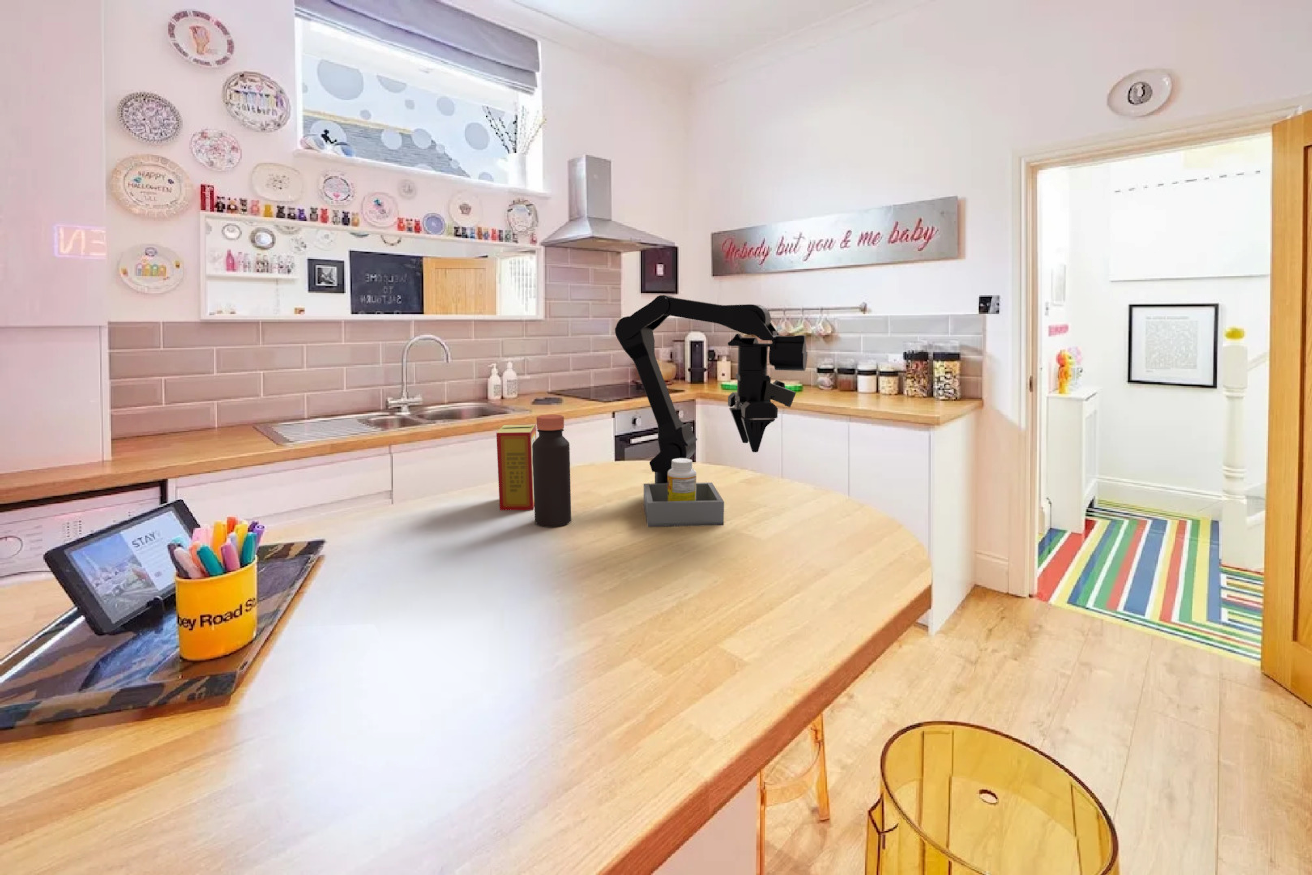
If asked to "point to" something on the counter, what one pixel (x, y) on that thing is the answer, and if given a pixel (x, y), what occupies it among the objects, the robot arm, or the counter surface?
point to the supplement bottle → (681, 481)
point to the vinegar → (551, 473)
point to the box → (683, 507)
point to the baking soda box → (516, 466)
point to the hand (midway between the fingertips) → (750, 447)
